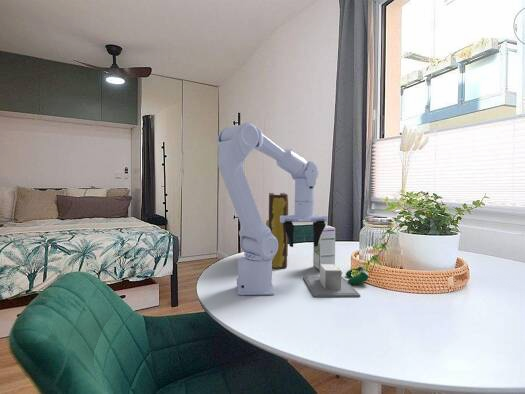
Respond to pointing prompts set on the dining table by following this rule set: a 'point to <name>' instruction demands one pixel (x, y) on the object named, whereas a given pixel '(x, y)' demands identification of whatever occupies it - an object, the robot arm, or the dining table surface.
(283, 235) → the book
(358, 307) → the dining table surface
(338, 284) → the plug
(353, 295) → the mat
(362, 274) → the gaming controller
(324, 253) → the syrup box
